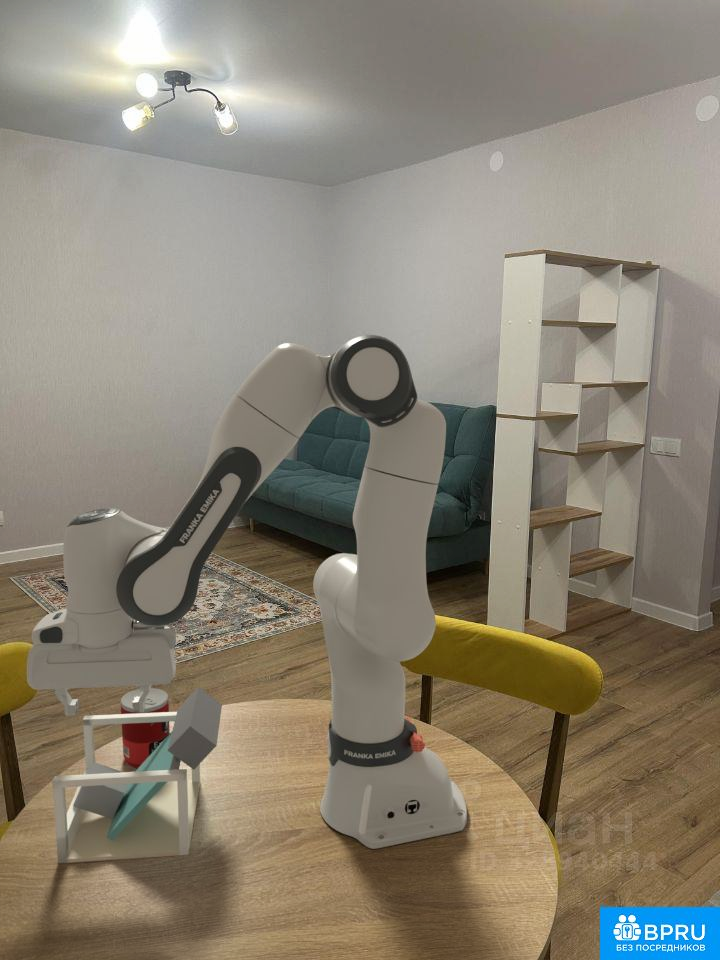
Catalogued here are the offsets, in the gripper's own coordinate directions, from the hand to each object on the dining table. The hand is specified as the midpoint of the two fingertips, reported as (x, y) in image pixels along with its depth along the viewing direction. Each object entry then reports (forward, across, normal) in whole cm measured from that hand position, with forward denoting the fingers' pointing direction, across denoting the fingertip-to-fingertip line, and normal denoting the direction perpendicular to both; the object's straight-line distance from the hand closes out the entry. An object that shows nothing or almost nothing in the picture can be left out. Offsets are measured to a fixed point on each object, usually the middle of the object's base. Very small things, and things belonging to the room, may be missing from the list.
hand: (105, 712), depth 107 cm
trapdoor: (+10, -10, 0) cm, 14 cm away
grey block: (+14, -2, 0) cm, 14 cm away
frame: (+18, -3, 0) cm, 18 cm away
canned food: (+18, -2, -17) cm, 25 cm away
